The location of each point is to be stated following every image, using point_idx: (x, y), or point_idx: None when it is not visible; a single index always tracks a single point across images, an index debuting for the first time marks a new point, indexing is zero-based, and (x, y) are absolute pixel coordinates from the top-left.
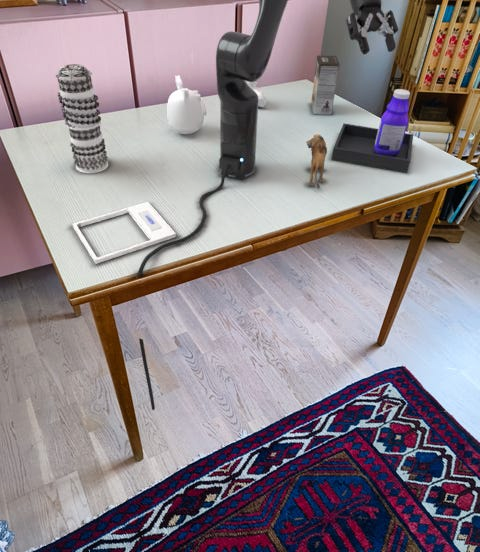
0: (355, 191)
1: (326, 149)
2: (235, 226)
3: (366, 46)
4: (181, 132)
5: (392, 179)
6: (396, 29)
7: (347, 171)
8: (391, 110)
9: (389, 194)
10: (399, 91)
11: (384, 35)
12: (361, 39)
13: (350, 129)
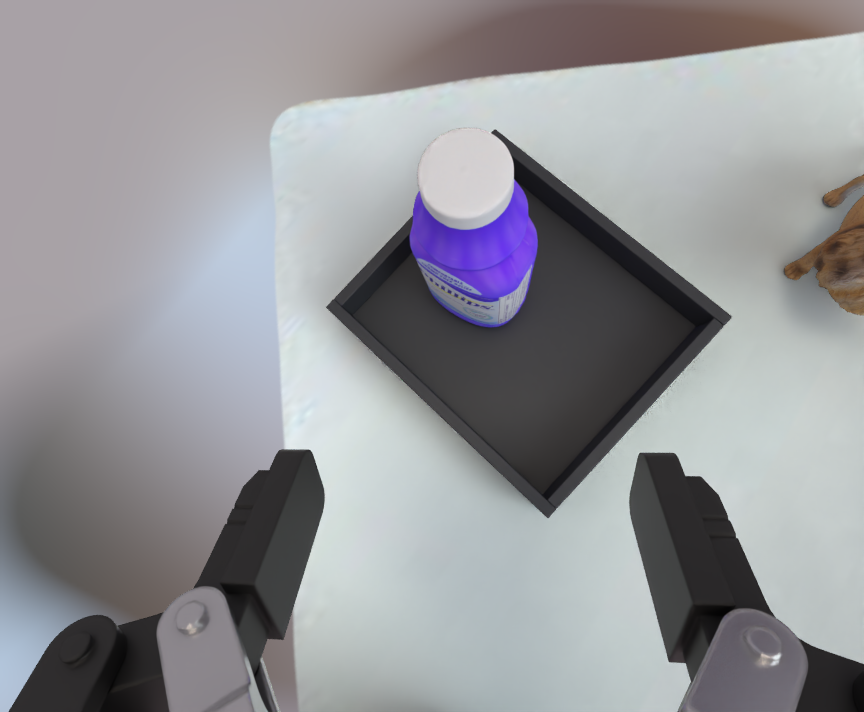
0: (742, 109)
1: (844, 233)
2: None
3: (688, 489)
4: None
5: (569, 136)
6: (90, 636)
7: (694, 231)
8: (525, 198)
9: (639, 62)
10: (482, 175)
11: (267, 682)
12: (763, 601)
13: (525, 479)
